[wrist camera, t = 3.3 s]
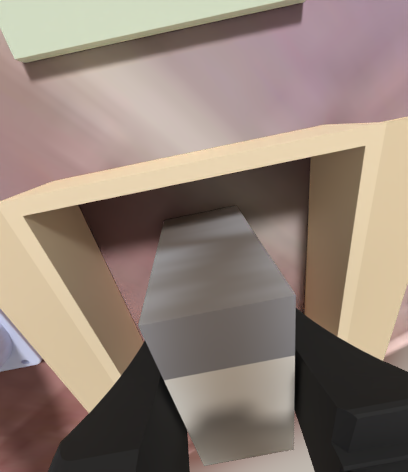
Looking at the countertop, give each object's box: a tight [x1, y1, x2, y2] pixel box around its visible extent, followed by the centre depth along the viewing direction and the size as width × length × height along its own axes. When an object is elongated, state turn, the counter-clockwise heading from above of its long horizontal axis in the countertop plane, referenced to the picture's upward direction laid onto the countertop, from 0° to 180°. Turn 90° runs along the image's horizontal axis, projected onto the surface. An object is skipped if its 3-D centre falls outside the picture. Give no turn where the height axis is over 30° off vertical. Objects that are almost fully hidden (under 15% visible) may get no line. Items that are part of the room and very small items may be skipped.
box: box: [138, 206, 296, 466], centre depth 10 cm, size 4×9×7 cm, turn 11°
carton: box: [0, 117, 408, 413], centre depth 12 cm, size 18×15×4 cm
